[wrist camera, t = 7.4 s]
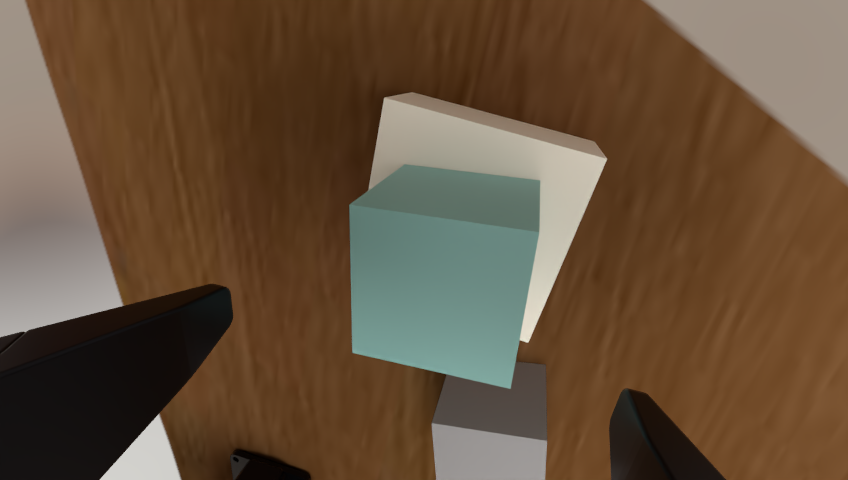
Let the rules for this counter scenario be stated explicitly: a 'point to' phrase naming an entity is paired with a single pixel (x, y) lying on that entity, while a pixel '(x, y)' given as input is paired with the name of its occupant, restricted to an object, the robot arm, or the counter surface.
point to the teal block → (443, 270)
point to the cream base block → (497, 169)
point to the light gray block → (492, 428)
